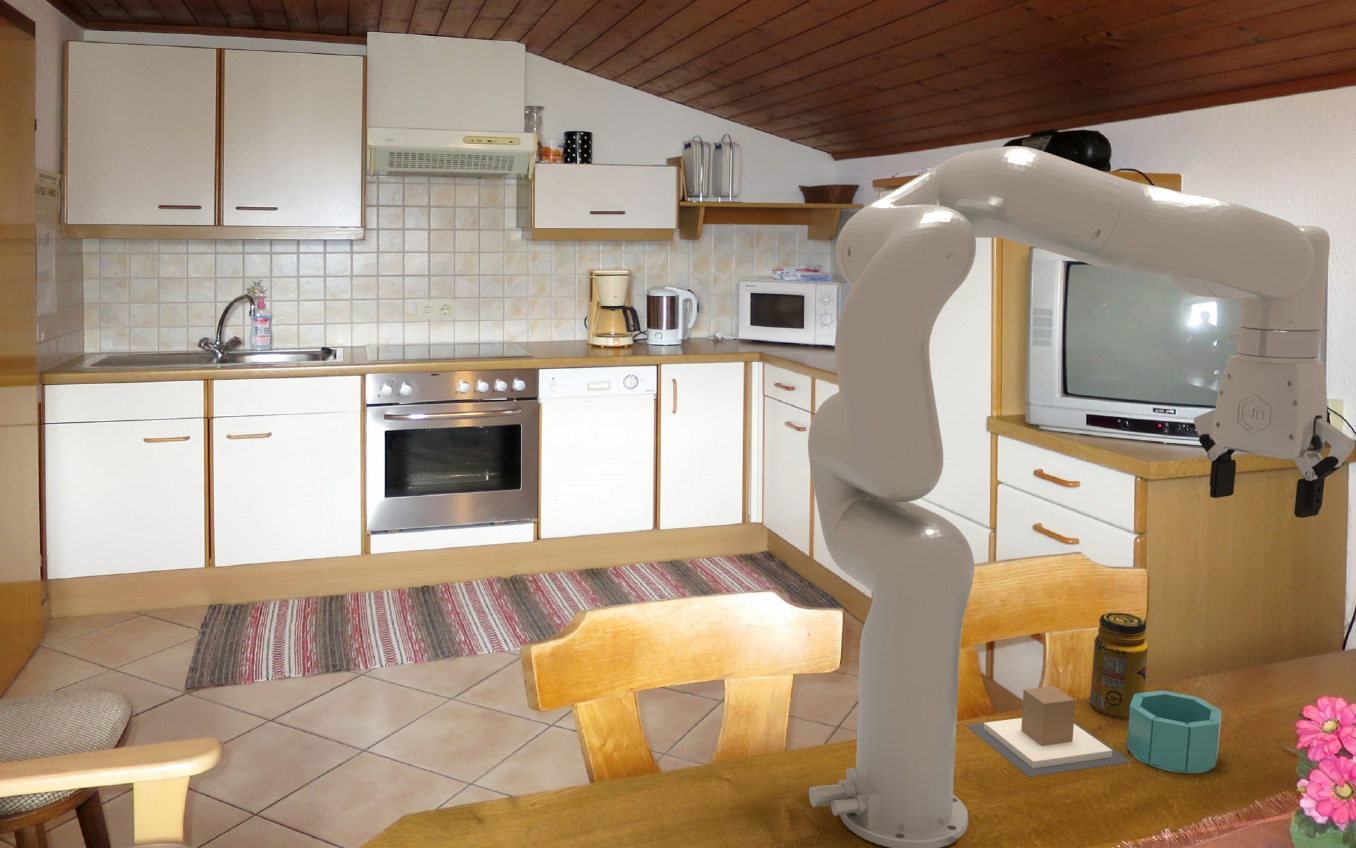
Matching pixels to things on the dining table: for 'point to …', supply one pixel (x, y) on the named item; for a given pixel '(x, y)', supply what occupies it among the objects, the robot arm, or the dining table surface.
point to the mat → (1029, 771)
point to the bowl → (1174, 731)
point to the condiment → (1118, 663)
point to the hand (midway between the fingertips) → (1262, 505)
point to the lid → (1047, 731)
